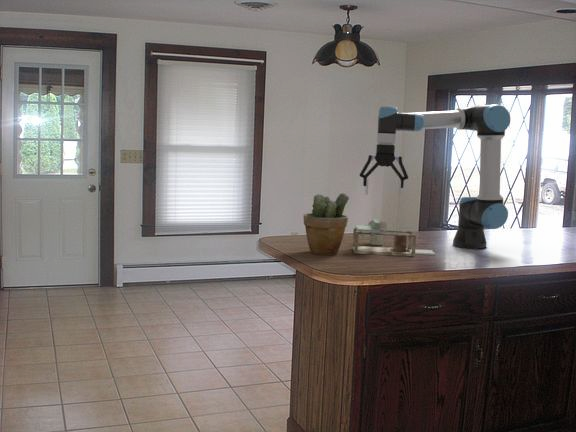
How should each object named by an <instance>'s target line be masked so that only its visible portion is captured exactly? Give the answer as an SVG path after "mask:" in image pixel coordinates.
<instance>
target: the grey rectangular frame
mask: <svg viewBox="0 0 576 432" xmlns="http://www.w3.org/2000/svg"><path fill="white" fill-rule="evenodd" d="M380 232H386V233H369V232H358V231H357V229H356V227H353V233H352V235H353V236H352V248H351V249H352V251H353V253H354V254H359V255H360V254H361V255H380V256H400V257H415V256H416V254H415V249H416V243H417V242H416V241H417V234H413V230H392V229H386V230H380ZM359 234H362V235H385V236H388V237H389V236H390V237H392V236H393V237H395V236H407V238H408V239H407V240H408V241H407V247H406V252H394V247H384V246H364V245H363V246H362V245H359V237H360V235H359ZM411 249H412V250H411Z"/></svg>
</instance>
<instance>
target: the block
mask: <svg viewBox="0 0 576 432" xmlns="http://www.w3.org/2000/svg"><path fill="white" fill-rule="evenodd" d="M393 238H394V239H393V240H394V242H393V248H394V251H393V252H406V248H407V243H408V241H407V240H408V239H407V238H408V236H393Z"/></svg>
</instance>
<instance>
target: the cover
mask: <svg viewBox="0 0 576 432" xmlns="http://www.w3.org/2000/svg"><path fill="white" fill-rule="evenodd" d="M371 221H372V226H363V225H361V224H360V225H359V224H358V225H357V224H356V225H355V228H356V229H357V231H356V232H367V233H369V232H378V233H380V222H381V221H380V220H378V218H372V220H371Z"/></svg>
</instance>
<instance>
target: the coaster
mask: <svg viewBox="0 0 576 432" xmlns="http://www.w3.org/2000/svg"><path fill="white" fill-rule="evenodd" d="M411 250H412V248H411ZM415 255H425V256H426V255H427V256H436V253H435V252H434V251H433V250H431V249H417V248H415Z"/></svg>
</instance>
